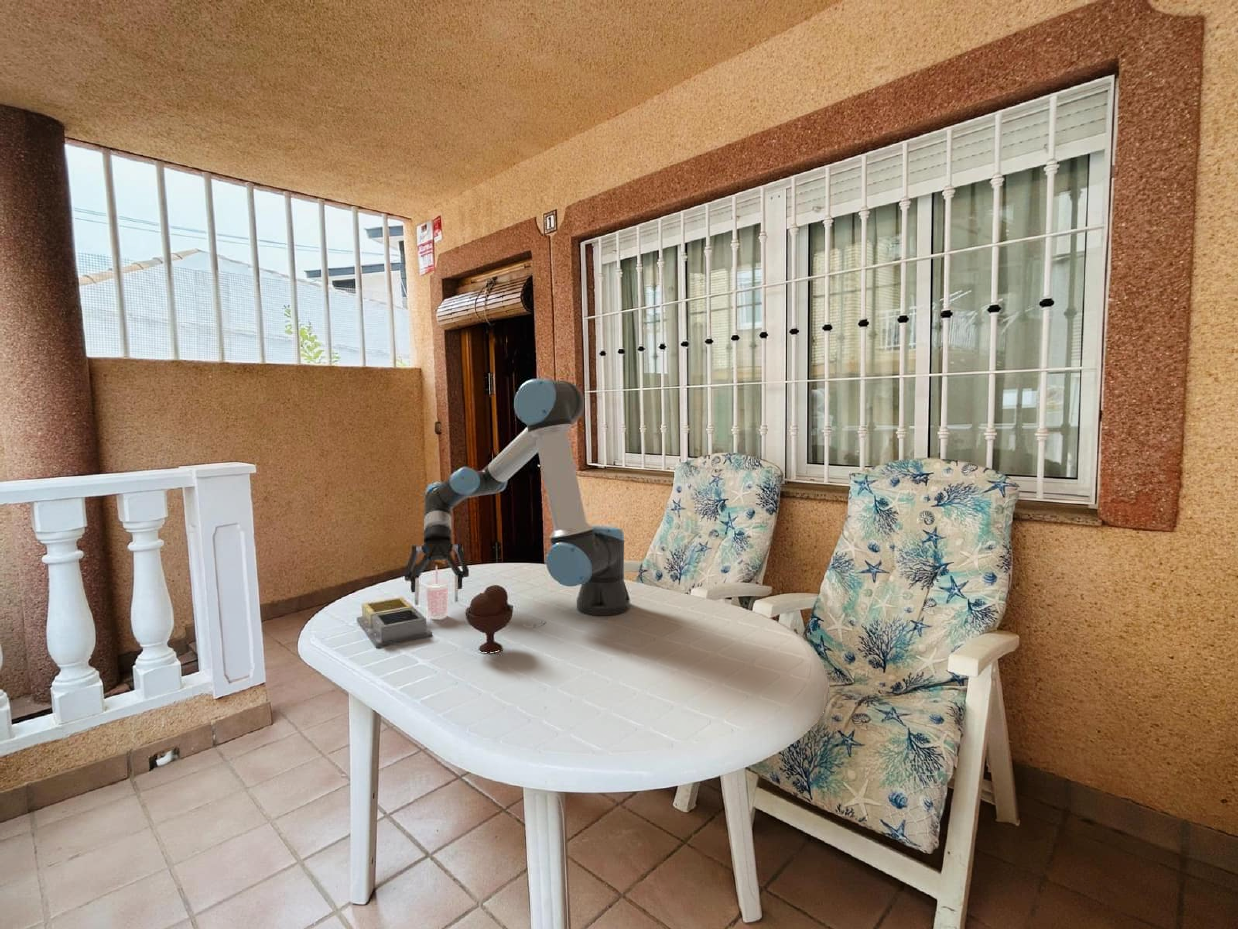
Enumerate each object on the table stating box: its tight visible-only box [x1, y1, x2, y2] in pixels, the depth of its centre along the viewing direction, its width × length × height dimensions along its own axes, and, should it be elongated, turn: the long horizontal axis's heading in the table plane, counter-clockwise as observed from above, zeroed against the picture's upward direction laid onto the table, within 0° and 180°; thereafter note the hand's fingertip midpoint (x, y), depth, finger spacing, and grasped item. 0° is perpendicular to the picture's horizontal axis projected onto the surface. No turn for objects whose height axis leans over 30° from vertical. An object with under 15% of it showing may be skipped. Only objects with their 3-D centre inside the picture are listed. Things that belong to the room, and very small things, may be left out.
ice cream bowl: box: [464, 584, 514, 653], centre depth 133 cm, size 11×11×15 cm
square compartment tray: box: [356, 596, 433, 649], centre depth 147 cm, size 22×13×4 cm, turn 35°
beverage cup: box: [424, 565, 450, 620], centre depth 155 cm, size 6×6×14 cm
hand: (436, 600), depth 153 cm, fingers open, 9 cm apart
